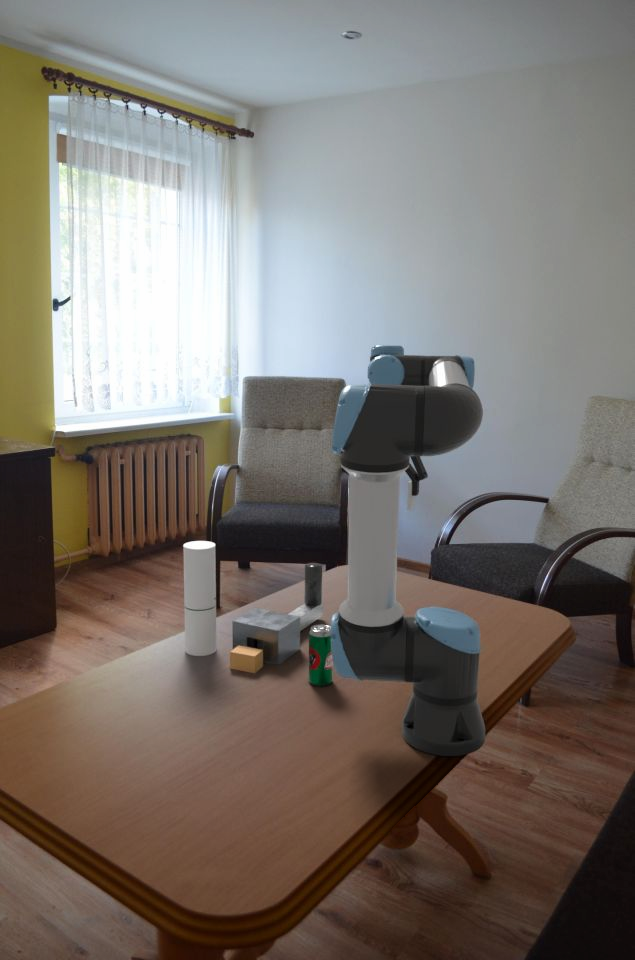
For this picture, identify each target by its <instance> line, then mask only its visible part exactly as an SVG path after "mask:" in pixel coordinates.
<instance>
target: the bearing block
mask: <svg viewBox="0 0 635 960" xmlns="http://www.w3.org/2000/svg"><path fill="white" fill-rule="evenodd" d="M231 624H232V626H231V627H232V650H233V649H234V648H236V647H237V646H238V645H240V646H245V647H251V648H256V649H260V648H257V639H259V640H263V641H264V649H262V650H263V663H267V664H272V665H276V666H280V665H281V664H282V663H283V662H285V661H286V660H288V659H289V658H290V657H292V656H293V655H294V654H296V653H297V652H298V651H300V649H301V631H300V617H299V616H294V615H289V613H283V612H278V611H275V610H274V611H273V610H268V609H263V608H259V607H255V608H252V609H251V610H249V611H247V612H245V613H244V614H243V615H241V616H239V617H237V618H235V619H234V620H232V623H231Z"/></svg>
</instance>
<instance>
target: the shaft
mask: <svg viewBox="0 0 635 960" xmlns="http://www.w3.org/2000/svg"><path fill="white" fill-rule="evenodd" d="M288 614H289V615H294V616H299V617H300V632H301V631H302V630H304V629H306V628H307V627H308V626H310V625H311V624H313V623H314V622H316V621H317V620H319V619H320V618H321V617H323V616H324V602H323V564H322V563H318V562H308V563H305V564H304V603H303V604H302V605H299V606H298V607H296V608H295V609H293V610H292V611H291V612H289V613H288ZM257 648H260V649H264V641H263V640H259V639H257Z"/></svg>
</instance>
